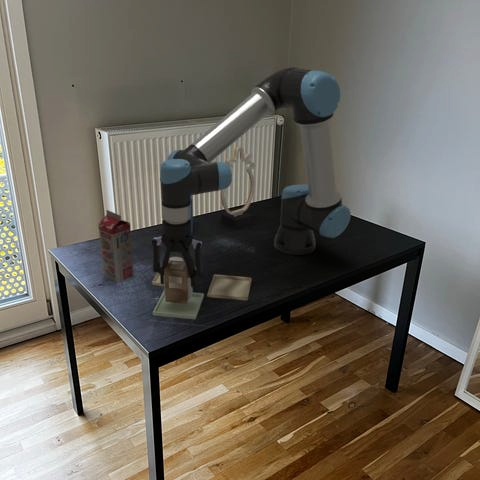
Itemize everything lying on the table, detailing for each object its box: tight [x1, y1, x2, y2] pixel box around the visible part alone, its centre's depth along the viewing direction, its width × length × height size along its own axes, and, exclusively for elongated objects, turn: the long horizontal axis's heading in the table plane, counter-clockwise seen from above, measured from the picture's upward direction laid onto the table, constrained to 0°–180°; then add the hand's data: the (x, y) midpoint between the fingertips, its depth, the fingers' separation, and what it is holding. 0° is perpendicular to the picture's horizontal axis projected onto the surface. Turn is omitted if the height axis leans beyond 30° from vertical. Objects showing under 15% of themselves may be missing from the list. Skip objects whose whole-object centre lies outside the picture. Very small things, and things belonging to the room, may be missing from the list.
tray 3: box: [206, 274, 253, 301], centre depth 146 cm, size 12×12×2 cm
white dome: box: [168, 256, 184, 263], centre depth 150 cm, size 5×5×6 cm
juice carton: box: [98, 209, 135, 284], centre depth 147 cm, size 7×7×22 cm
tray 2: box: [152, 290, 205, 320], centre depth 136 cm, size 12×12×2 cm
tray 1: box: [151, 265, 196, 287], centre depth 151 cm, size 12×12×2 cm
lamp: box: [220, 146, 256, 230], centre depth 188 cm, size 17×9×32 cm, turn 132°
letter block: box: [164, 260, 189, 304], centre depth 133 cm, size 6×6×10 cm
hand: (178, 294), depth 135 cm, fingers closed on letter block, 6 cm apart
